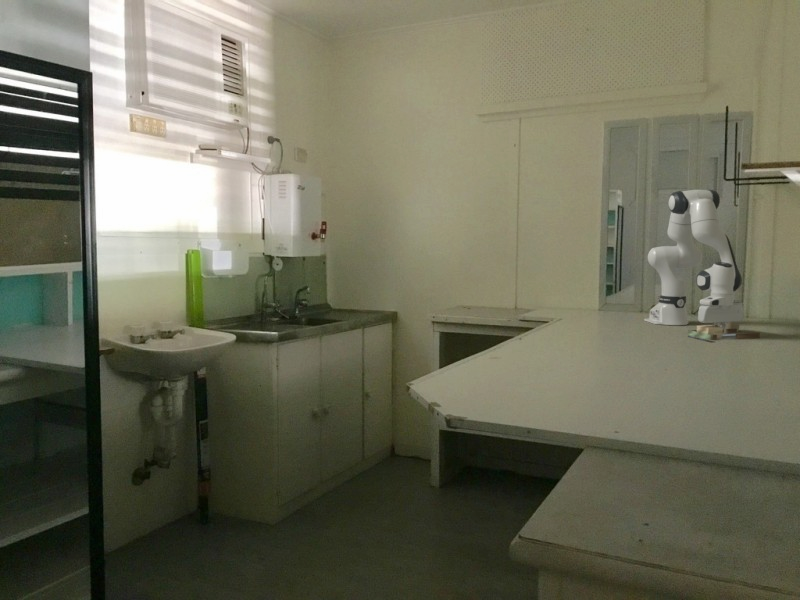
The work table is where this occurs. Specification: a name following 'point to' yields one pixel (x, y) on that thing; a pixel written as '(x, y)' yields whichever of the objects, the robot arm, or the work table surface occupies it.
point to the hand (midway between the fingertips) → (720, 332)
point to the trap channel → (727, 335)
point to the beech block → (711, 330)
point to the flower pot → (733, 325)
